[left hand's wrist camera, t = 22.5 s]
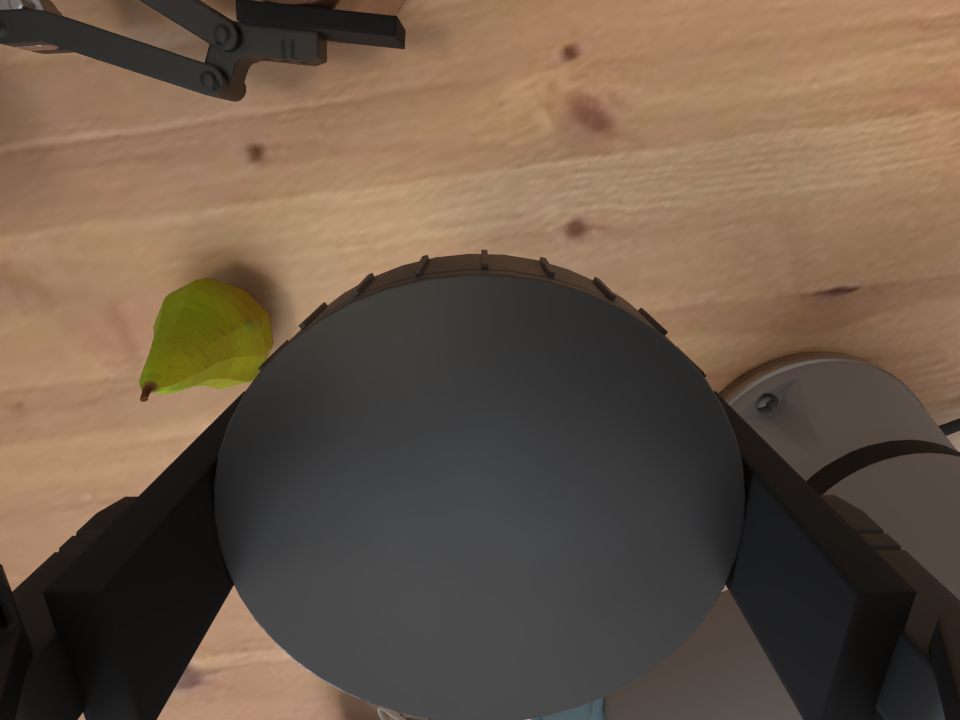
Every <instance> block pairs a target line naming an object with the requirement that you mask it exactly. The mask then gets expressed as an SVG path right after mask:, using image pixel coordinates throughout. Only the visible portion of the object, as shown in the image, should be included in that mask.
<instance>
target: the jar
mask: <svg viewBox="0 0 960 720" xmlns="http://www.w3.org/2000/svg"><path fill="white" fill-rule="evenodd" d="M255 1H263V2H272V3H281V4H291V5H300V6H309V7H318V8H328V9H337V10H346V11H356V12H365V13H374V14H383V15H393V16H395V15H396V13H397V12H398V11H399V9H400V7H401V6H402V4H403V3H404V1H405V0H255ZM327 42H331V43H342V42H333V41H327Z"/></svg>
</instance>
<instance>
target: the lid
mask: <svg viewBox="0 0 960 720" xmlns="http://www.w3.org/2000/svg"><path fill="white" fill-rule="evenodd" d="M299 327H300V328H301V330H300V331H299V332H298V333H297V334H296V335H295V336H294V337H293V338H292V339H291V340H290V341H288V340H287V341H286V342H285V343H284V344H282V345H281V346H280V347H279V348H278V349H277V350H276V351H275V352H274V353H273V354H272V355H271V356H270V357H269V358H268V359H267V360H266V361H265V362H264V363H262V364H261V366H260V367H259V368H258V369H259V370H260V372H259V374H258V375H257V376H256V378H255V379H254V381H253V382H252V383H251V385H250V386H249V387H248V389H247V390H246V392H245V393H244V394H243V396H242V398H241V400H240V402H239V404H238V406H237V408H236V410H235V412H234V413H233V416H232V418H231V420H230V422H229V424H228V426H227V429H226V433H225V436H224V439H223V442H222V445H221V448H220V451H219V454H218V461H217V467H216V474H215V480H214V517H215V523H216V528H217V533H218V539H219V544H220V549H221V552H222V555H223V559H224V562H225V565H226V568H227V571H228V573H229V575H230V577H231V579H232V581H233V583H234V585H235V587H236V590H237V592H238V594H239V596H240V598H241V599H242V600H243V602H244V603H245V605H246V606H247V608H248V609H249V611H250V612H251V614H252V615H253V617H254V618H255V620H256V621H257V622H258V624H259V625H260V626H261V627H262V628H263V629H264V630H265V632H266V633H267V634H268V635H269V636H270V637H271V638H272V640H273V641H274V642H275V643H276V644H277V645H278V646H280V647H281V648H282V649H283V650H284V651H285V652H286V653H287V654H288V655H290V656H291V657H292V658H293V659H294V660H295V661H296V662H298V663H299V664H300V665H302V666H303V667H305V668H306V669H307V670H309V671H310V672H312V673H313V674H314V675H316V676H317V677H319V678H320V679H322V680H324V681H325V682H327V683H329V684H331V685H333V686H334V687H336V688H338V689H340V690H342V691H343V692H345V693H347V694H350V695H352V696H354V697H357V698H359V699H361V700H364V701H366V702H368V703H371V704H373V705H376V706H380V707H383V708H386V709H389V710H392V711H396V712H399V713H403V714H407V715H412V716H417V717H422V718H426V719H432V720H526V719H531V718H537V717H543V716H548V715H552V714H556V713H559V712H563V711H567V710H570V709H574V708H577V707H580V706H582V705H585V704H587V703H590V702H593V701H595V700H598V699H601V698H603V697H605V696H607V695H609V694H611V693H613V692H615V691H617V690H619V689H621V688H623V687H625V686H627V685H629V684H630V683H632V682H634V681H635V680H637V679H638V678H640V677H641V676H643V675H644V674H646V673H648V672H649V671H651V670H652V669H654V668H655V667H656V666H657V665H659V664H660V663H661V662H662V661H663V660H665V659H666V658H667V657H668V656H670V655H671V654H672V653H673V652H674V651H676V650H677V649H678V648H679V647H680V646H681V644H682V643H683V642H684V641H685V640H686V639H687V638H688V637H689V636H690V635H691V634H692V633H693V632H694V631H695V630H696V629H697V627H698V626H699V625H700V623H701V622H702V621H703V619H704V618H705V617H706V615H707V614H708V613H709V611H710V610H711V609H712V607H713V606H714V604H715V602H716V600H717V599H718V597H719V595H720V593H721V591H722V590H723V588H724V586H725V584H726V583H727V580H728V578H729V575H730V573H731V570H732V567H733V565H734V562H735V560H736V557H737V554H738V550H739V545H740V540H741V535H742V530H743V525H744V516H745V502H746V493H745V482H744V470H743V464H742V460H741V456H740V452H739V448H738V444H737V440H736V436H735V434H734V431H733V429H732V427H731V424H730V422H729V420H728V417H727V415H726V413H725V410H724V408H723V406H722V404H721V403H720V401H719V400H718V398H717V397H716V395H715V393H714V392H713V390H712V389H711V387H710V385H709V384H708V382H707V381H706V379H705V378H704V377H706V375H705V374H704V372H703V371H702V370H701V369H700V368H699V367H698V366H697V365H696V364H695V363H693V362H692V361H691V360H690V359H689V358H688V357H687V356H686V355H685V354H684V353H683V352H682V351H681V350H680V349H679V348H678V347H676V346H675V345H674V344H673V343H672V342H671V341H670V340H669V339H668V338H667V337H666V336H665V335H666V334H667V333H668V332H667V331H666V330H665V329H664V328H663V327H662V326H661V325H660V324H659V323H658V322H657V321H656V320H655V319H653V318H652V317H651V316H650V315H649V314H648V313H647V312H646V311H645V310H644V309H643V308H640V309H639V310H636V309H635V308H634V307H633V306H632V305H631V304H629V303H628V302H627V301H626V300H624V299H623V298H621V297H620V296H618V295H616V294H615V293H613V292H612V291H611V290H610V289H609V288H608V287H607V286H606V285H605V284H604V283H603V282H602V281H601V280H600V279H598V278H596V277H595V278H594V279H593V280H590V279H588V278H586V277H584V276H582V275H579V274H577V273H575V272H573V271H571V270H568V269H565V268H561V267H558V266H555V265H551V264H549V263H548V261H547V260H546V258H543V257H540V260H539V261H538V260H533V259H526V258H520V257H514V256H508V255H490V254H487V250H481V254H464V255H455V256H445V257H436V258H432V259H429V257H428V255H426V256H422V258H421V260H420V261H419V262H415V263H411V264H407V265H403V266H400V267H398V268H395V269H393V270H390V271H387V272H385V273H382V274H380V275H377V276H375V277H374V275H373V273H371V274H369V275H367V276H366V278H365V279H364V280H363V281H362V282H361V283H360V284H359V285H358V286H356V287H354V288H352V289H351V290H349V291H347V292H345V293H344V294H342V295H341V296H340V297H338V298H337V299H336V300H334V301H333V302H332V303H330V304H329V305H328V306H327V304H326V303H325V302H324V303H323V304H322V305H320V306H319V307H318V308H317V309H316V310H315V311H314V312H313V313H312V314H311V315H310V316H309V317H308V318H306V319H305V320H304V321H303V322H302V323H301V324H300V325H299Z"/></svg>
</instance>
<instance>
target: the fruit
mask: <svg viewBox="0 0 960 720" xmlns="http://www.w3.org/2000/svg"><path fill="white" fill-rule="evenodd" d="M153 328H154V339H153V342H152V346H151V350H150V353H149V356H148V358H147V361H146V363H145V366H144V369H143V371H142V374H141V378H140V381H139V383H140V386H141V389H142V395H141V397H140V400H141V401H142V402H144V401H147V400H148V396H149V394H150V393H163V394H169V393H175V392H179V391H181V390H184V389H187V388H189V387H192V386H205V385H206V386H209V387H213V388H218V389H223V388H227V387H231V386H235V385H238V384H242V383H246V382H250V381H252V380H254V379H255V378H256V376H257V375H258V374H259V372H260V370H259V369H258V368H259V367H260V366H261V364H262V363H264V362H265V361H266V359H267V357H268V355H269V353H270V350H271V348H272V346H273V336H272V329H271V323H270V316H269V313H268V312H267V311H266V310H265V309H264V308H263V307H262V306H261V305H260V304H259V303H258V302H257V301H256V300H254V299H253V298H252V297H251V296H250V295H249V294H248V293H247V292H246V291H245V290H242V289H239V288H236V287H233V286H230V285H227V284H224V283H221V282H218V281H215V280H212V279H208V278H205V279H200V280H196V281H194V282H192V283H190V284H188V285H186V286H184V287H182V288H180V289H178V290H176V291H174V292H172V293H170V294H169V295H168V296H167V297H166V298H165V299H164V301H163V303H162V306H161V309H160V311H159V314H158V317H157V319H156V322H155V324H154V327H153Z"/></svg>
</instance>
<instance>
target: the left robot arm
mask: <svg viewBox="0 0 960 720" xmlns="http://www.w3.org/2000/svg"><path fill="white" fill-rule="evenodd" d="M245 392H246V391H244V392H243V393H242V394H241V395H240V396H239V397H238V398H237V399H236V400H235V401H234V402H233V403H232V404H231V405H230V406H229V407H228V408H227V409H226V410H225V411H224V412H223V413H222V414H221V415H220V416H219V417H218V418H217V419H216V420H215V421H214V422H213V423H212V424H211V425H210V426H209V427H208V428H207V429H206V430H205V431H204V432H203V433H202V434H201V435H200V436H199V437H198V438H197V439H196V440H195V441H194V442H193V443H192V444H191V445H190V446H189V447H188V448H187V449H186V450H185V451H184V452H183V453H182V454H181V455H180V456H179V457H178V458H177V459H176V460H175V461H174V462H173V463H172V464H171V465H170V466H169V467H168V468H167V469H166V470H165V471H164V472H163V473H162V474H161V475H160V476H159V477H158V478H157V479H156V480H155V481H154V482H153V483H152V484H151V485H150V486H149V487H148V488H147V489H146V490H145V491H144V492H143V493H142V494H141V495H140V496H139V497H124V498H122V499H121V500H119V501H117V502H115V503H114V504H112V505H110V506H108V507H107V508H105V509H103V510H101V511H100V512H98V513H97V514H95V515H94V516H93V517H92V518H91V519H90V520H89V521H88V522H87V523H86V524H85V525H84V526H83V527H81V528H80V529H79V530H78V531H77V532H76V533H77V534H76V536H72V537H71V538H70V539H69V540H68V541H66V542H65V543H64V544H63V545H62V546H61V547H60V548H59V552H55V553H54V554H52V555H51V556H50V557H49V558H48V559H47V560H46V561H45V562H44V563H43V564H42V565H41V566H40V567H39V568H37V569H36V570H35V571H34V572H33V573H32V574H31V575H30V576H29V577H28V578H27V579H26V580H25V581H23V582H22V583H21V584H20V585H19V586H18V587H17V588H16V589H15V590H14V591H13V592H12V591H11V588H10V586H9V583H8V580H7V577H6V575H5V572H4V569H3V566H2V565H1V564H0V720H78V718H79V717H80V715H81V714H82V713H84V716H85V719H86V720H157V718H158V716H159V714H160V713H161V711H162V709H163V707H164V706H165V704H166V702H167V700H168V699H169V697H170V695H171V693H172V692H173V690H174V688H175V687H176V685H177V683H178V681H179V680H180V678H181V676H182V674H183V673H184V671H185V669H186V667H187V666H188V664H189V662H190V660H191V659H192V657H193V655H194V653H195V652H196V650H197V648H198V646H199V645H200V643H201V641H202V640H203V638H204V636H205V634H206V633H207V631H208V629H209V627H210V626H211V624H212V622H213V620H214V619H215V617H216V615H217V613H218V612H219V610H220V608H221V606H222V605H223V603H224V601H225V599H226V598H227V596H228V594H229V592H230V591H231V589H232V587H233V586H234V583H233V581H232V579H231V577H230V575H229V573H228V571H227V568H226V565H225V562H224V559H223V555H222V552H221V549H220V544H219V539H218V533H217V528H216V523H215V517H214V480H215V474H216V467H217V461H218V454H219V451H220V448H221V445H222V442H223V439H224V436H225V433H226V429H227V426H228V424H229V422H230V420H231V418H232V416H233V413H234V412H235V410H236V408H237V406H238V404H239V402H240V400H241V398H242V396H243V394H244V393H245ZM713 392H714V393H715V395H716V397H717V398H718V400H719V401H720V403H721V404H722V406H723V408H724V410H725V413H726V415H727V417H728V420H729V422H730V424H731V427H732V429H733V431H734V434H735V436H736V440H737V444H738V448H739V452H740V456H741V460H742V464H743V470H744V482H745V493H746V502H745V516H744V525H743V530H742V535H741V540H740V545H739V550H738V554H737V557H736V560H735V562H734V565H733V567H732V570H731V573H730V575H729V578H728V580H727V583H726V586H727V588H728V590H726V591H724V592H721V593H720V595H719V597H718V599H717V600H716V602H715V604H714V606H713V607H712V609H711V610H710V611H709V613H708V614H707V615H706V617H705V618H704V619H703V621H702V622H701V623H700V625H699V626H698V627H697V629H696V630H695V631H694V632H693V633H692V634H691V635H690V636H689V637H688V638H687V639H686V640H685V641H684V642H683V643H682V644H681V646H680V647H679V648H678V649H677V650H676V651H674V652H673V653H672V654H671V655H670V656H668V657H667V658H666V659H665V660H663V661H662V662H661V663H660V664H659V665H657V666H656V667H655V668H654V669H652V670H651V671H649V672H648V673H646V674H644V675H643V676H641V677H640V678H638V679H637V680H635V681H634V682H632V683H630V684H629V685H627V686H625V687H623V688H621V689H619V690H617V691H615V692H613V693H611V694H609V695H607V696H605V697H603V698H601V699H598V700H595V701H593V702H590V703H587V704H585V705H582V706H580V707H577V708H574V709H570V710H567V711H563V712H559V713H556V714H552V715H548V716H543V717H537V718H531V720H960V452H958V451H957V450H956V449H955V448H954V446H953V445H952V444H951V442H950V441H949V440H948V438H947V437H946V435H949V434H952V433H955V432H957V431H960V419H957V420H954V421H951V422H949V423H946V424H943V425H940V426H938V425H937V424H936V423H935V422H934V420H933V419H932V418H931V417H930V415H929V414H928V413H927V412H926V410H925V408H924V407H923V405H922V403H921V402H920V401H919V399H918V398H917V397H916V396H915V395H914V393H913V392H912V391H911V390H910V389H909V388H908V387H907V386H906V385H905V384H904V383H902V382H901V381H900V380H899V379H897V378H896V377H894V376H893V375H891V374H889V373H888V372H886V371H884V370H882V369H880V368H878V367H876V366H874V365H872V364H870V363H868V362H866V361H864V360H862V359H859V358H856V357H853V356H849V355H845V354H839V353H832V352H810V353H802V354H796V355H791V356H787V357H783V358H780V359H777V360H774V361H771V362H769V363H766V364H764V365H762V366H760V367H758V368H756V369H754V370H752V371H750V372H749V373H747V374H745V375H744V376H742V377H741V378H739V379H738V380H737V381H735V382H734V383H733V384H731V385H730V386H729V387H728V388H727V389H725V390H724V391H723V392H722V393H721V394H720V395H719V394H718V393H717V392H716V391H713Z"/></svg>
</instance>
